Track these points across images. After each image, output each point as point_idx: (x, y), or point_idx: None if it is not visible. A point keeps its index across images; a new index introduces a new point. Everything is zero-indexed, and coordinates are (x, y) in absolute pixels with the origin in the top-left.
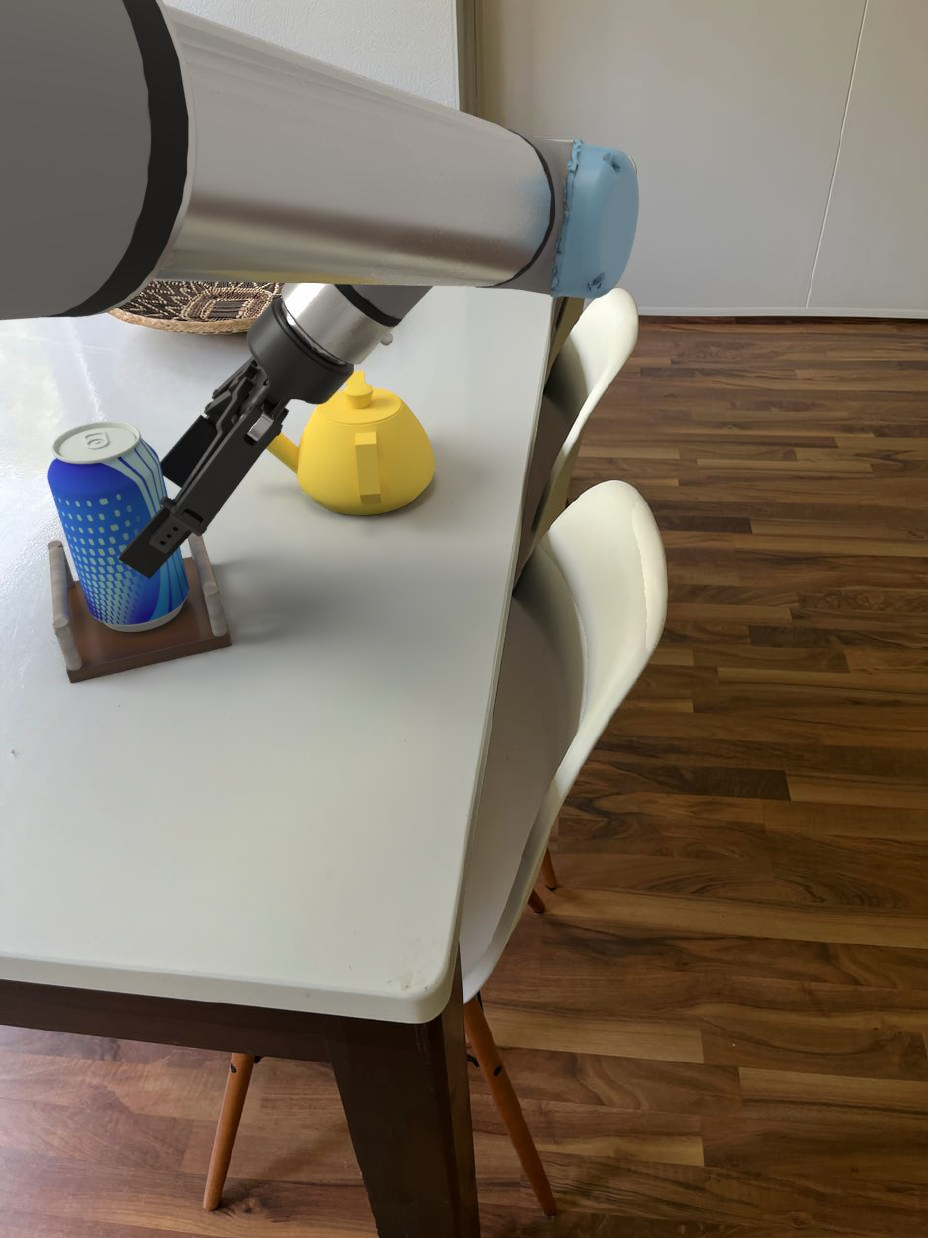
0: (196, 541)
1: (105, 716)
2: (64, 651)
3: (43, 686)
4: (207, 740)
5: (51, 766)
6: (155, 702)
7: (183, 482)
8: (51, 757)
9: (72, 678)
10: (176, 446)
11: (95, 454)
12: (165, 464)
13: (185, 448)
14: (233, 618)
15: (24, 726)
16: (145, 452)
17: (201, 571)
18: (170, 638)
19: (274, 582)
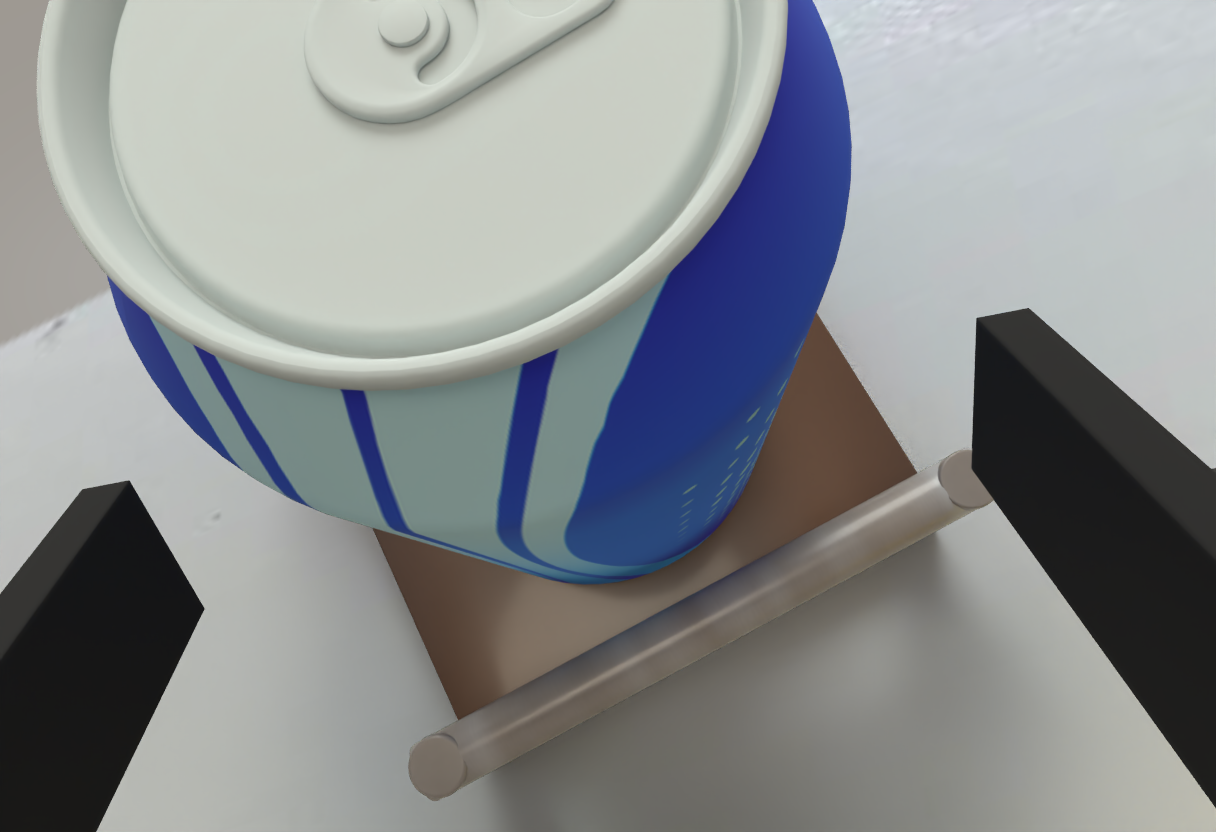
0: (779, 579)
1: (176, 495)
2: None
3: None
4: None
5: (5, 438)
6: (229, 613)
7: (986, 478)
8: (35, 423)
9: None
10: (1086, 437)
11: (227, 103)
12: (1007, 372)
13: (1098, 499)
14: (634, 724)
15: None
16: (467, 439)
17: (567, 677)
18: (445, 577)
19: (864, 817)
